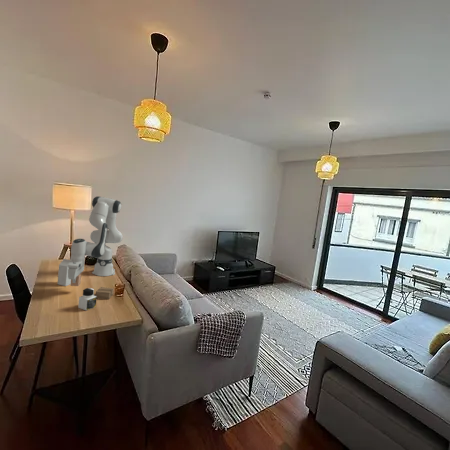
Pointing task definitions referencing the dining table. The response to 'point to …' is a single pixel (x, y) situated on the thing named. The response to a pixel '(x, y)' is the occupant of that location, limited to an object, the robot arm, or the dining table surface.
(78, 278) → the pink block
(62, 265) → the milk carton
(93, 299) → the medicine bottle
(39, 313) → the dining table surface
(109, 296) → the tan square block
